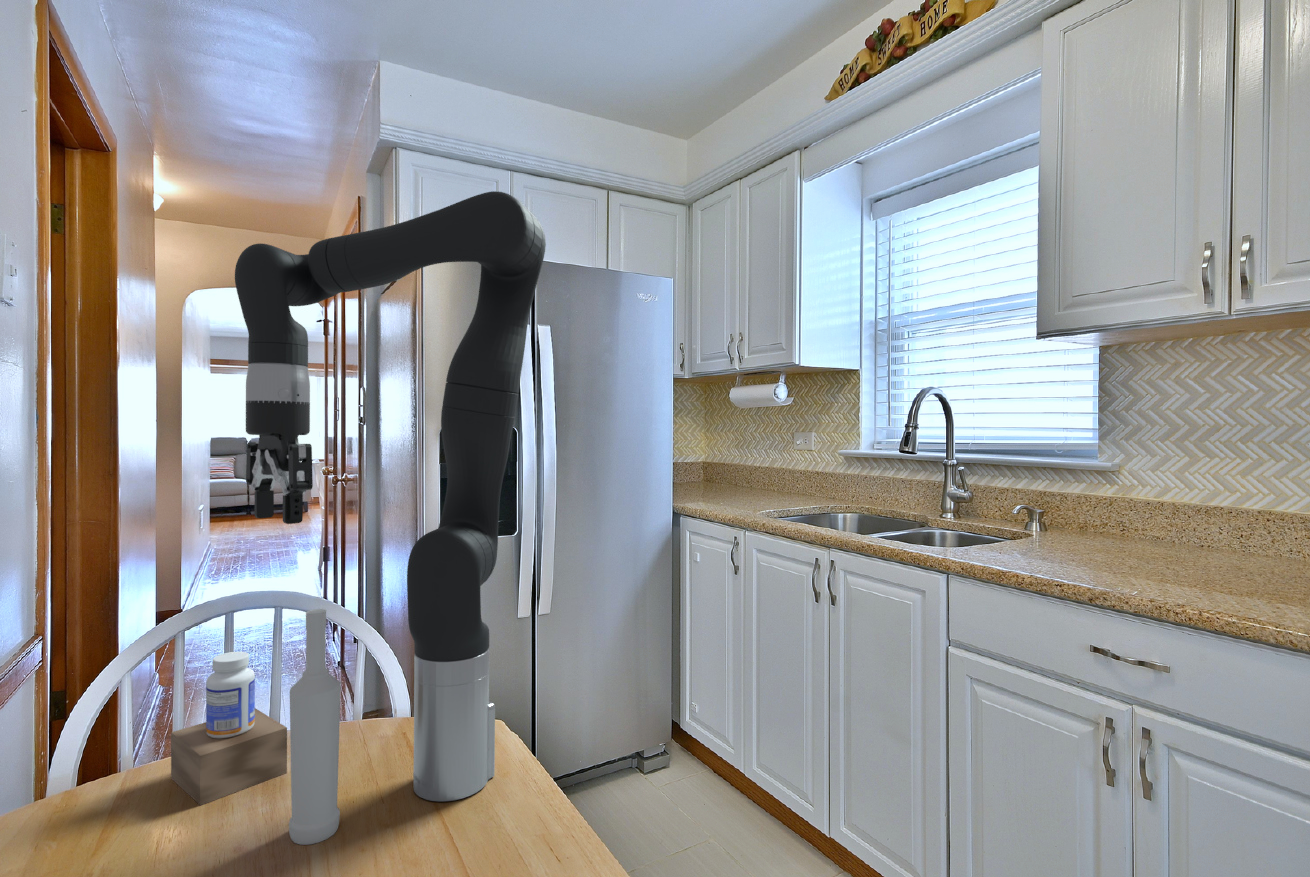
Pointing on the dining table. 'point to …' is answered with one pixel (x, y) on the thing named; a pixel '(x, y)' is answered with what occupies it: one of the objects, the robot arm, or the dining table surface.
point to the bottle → (314, 742)
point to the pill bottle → (230, 696)
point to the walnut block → (227, 758)
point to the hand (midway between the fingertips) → (277, 520)
